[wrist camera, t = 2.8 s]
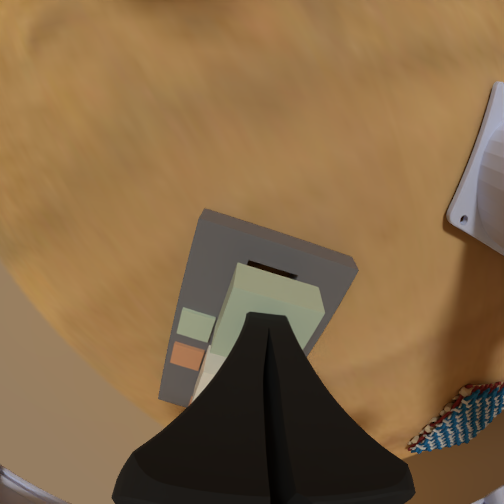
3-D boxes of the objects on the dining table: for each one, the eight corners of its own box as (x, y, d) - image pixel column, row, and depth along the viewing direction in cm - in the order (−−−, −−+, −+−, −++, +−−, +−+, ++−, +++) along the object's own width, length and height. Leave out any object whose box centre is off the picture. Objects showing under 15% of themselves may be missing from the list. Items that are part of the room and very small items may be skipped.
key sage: (314, 270, 12) (325, 313, 10) (285, 325, 14) (288, 372, 11) (240, 246, 12) (233, 286, 9) (219, 307, 13) (209, 352, 11)
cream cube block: (277, 343, 14) (278, 389, 12) (255, 381, 16) (253, 424, 13) (213, 326, 14) (203, 371, 11) (199, 366, 15) (189, 409, 13)
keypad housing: (352, 256, 13) (359, 272, 12) (259, 410, 19) (259, 426, 18) (204, 208, 13) (197, 219, 11) (162, 385, 18) (157, 401, 17)
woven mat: (400, 443, 23) (404, 458, 22) (462, 377, 19) (471, 395, 17) (463, 433, 24) (468, 445, 22) (519, 373, 19) (527, 386, 17)
